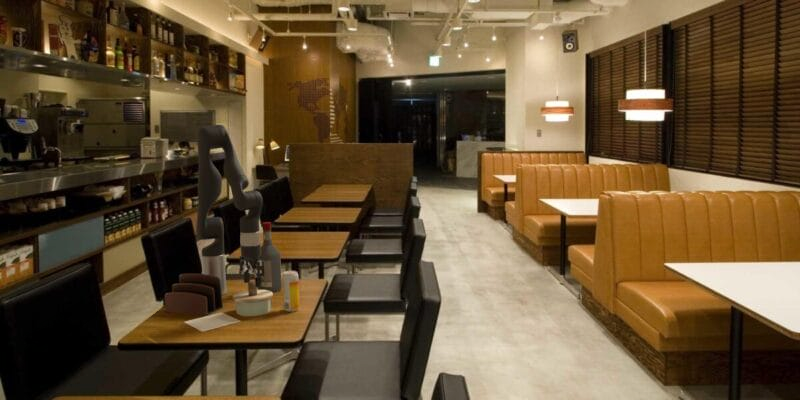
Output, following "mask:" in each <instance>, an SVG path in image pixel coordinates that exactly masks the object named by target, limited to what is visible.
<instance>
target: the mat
mask: <svg viewBox="0 0 800 400" xmlns="http://www.w3.org/2000/svg"><path fill="white" fill-rule="evenodd" d="M240 322H242V321H241V320H239V319H237V318H235V317H233V316H230V315H229V314H226V313H224V312H218V313H215V314H214V313H213V314H210V315H208V316H206V315H205V316H203V317H198V318H194V319H189V320H186V321H184V323H185V324H187V325H188V326H191V327H192V328H195V329H197V330H198V331H200V332H206V331H210V330H213V329H218V328H221V327H225V326H229V325H233V324H236V323H240Z"/></svg>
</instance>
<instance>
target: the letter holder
mask: <svg viewBox="0 0 800 400" xmlns="http://www.w3.org/2000/svg"><path fill="white" fill-rule="evenodd" d="M178 282H179V283H174V284H172V285H171V291H170V292H167V293H166V292H165V294H164V309H165V310H164V311H165V313H167V314H168V313H169V314H170V313H178V314H179V313H180V314H190V315H196V316H205V317H206V316H210V315H213V314H214V313H216V312H219V311H221V310H222V309H224V306H223V295H222V292H221V281H220V278H219V277H216V276H211V275H206V274H203V273H181V274H179V276H178Z"/></svg>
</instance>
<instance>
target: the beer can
mask: <svg viewBox="0 0 800 400" xmlns="http://www.w3.org/2000/svg"><path fill="white" fill-rule="evenodd" d="M281 280H282V297H283V310H284V311H285V312H287V313H289V312H290V313H291V312H293V313H294V312H297V311H299V309H300V307H301V306H300V304H301V303H300V285H299V280H300V279H299V274H298V271H296V270H286V271H283V272H282V274H281Z"/></svg>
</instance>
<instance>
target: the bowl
mask: <svg viewBox="0 0 800 400" xmlns="http://www.w3.org/2000/svg"><path fill="white" fill-rule="evenodd" d="M271 299H272V298H271ZM271 299H269V300H266V301H262V302H257V303H238V302H235V311H236V312H235V313H236V315H239V316H241V317H257V316H261V315H265V314H268V313H269V312H270V311H271V310H272V303H271Z"/></svg>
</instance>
